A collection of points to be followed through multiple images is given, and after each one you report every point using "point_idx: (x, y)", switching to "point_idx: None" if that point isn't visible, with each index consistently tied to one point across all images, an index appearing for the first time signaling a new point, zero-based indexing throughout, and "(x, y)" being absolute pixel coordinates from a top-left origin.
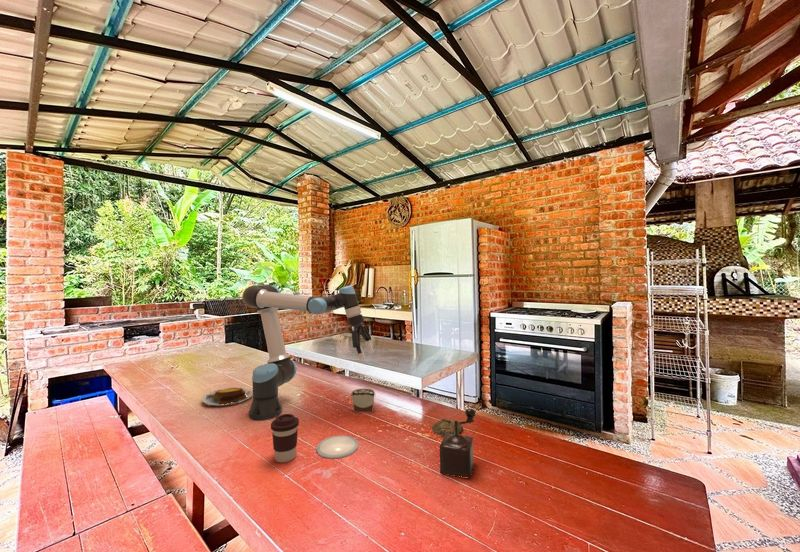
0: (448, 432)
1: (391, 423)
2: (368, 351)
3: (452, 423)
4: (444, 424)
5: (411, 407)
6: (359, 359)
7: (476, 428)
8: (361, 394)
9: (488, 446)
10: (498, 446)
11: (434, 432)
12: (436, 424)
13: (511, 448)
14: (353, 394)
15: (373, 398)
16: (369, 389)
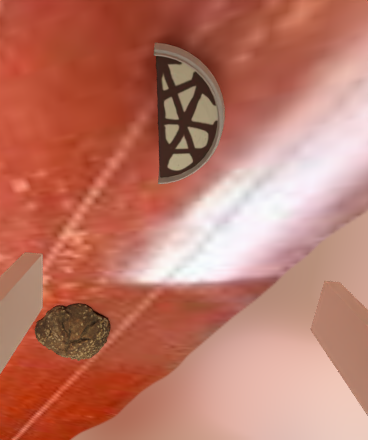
0: (38, 339)
1: (82, 212)
2: (335, 299)
3: (66, 353)
4: (58, 340)
5: (215, 255)
6: (19, 257)
7: (101, 367)
8: (158, 112)
9: (30, 375)
10: (36, 385)
11: (53, 309)
12: (70, 322)
13: (36, 397)
14: (157, 61)
15: (159, 166)
16: (211, 150)
